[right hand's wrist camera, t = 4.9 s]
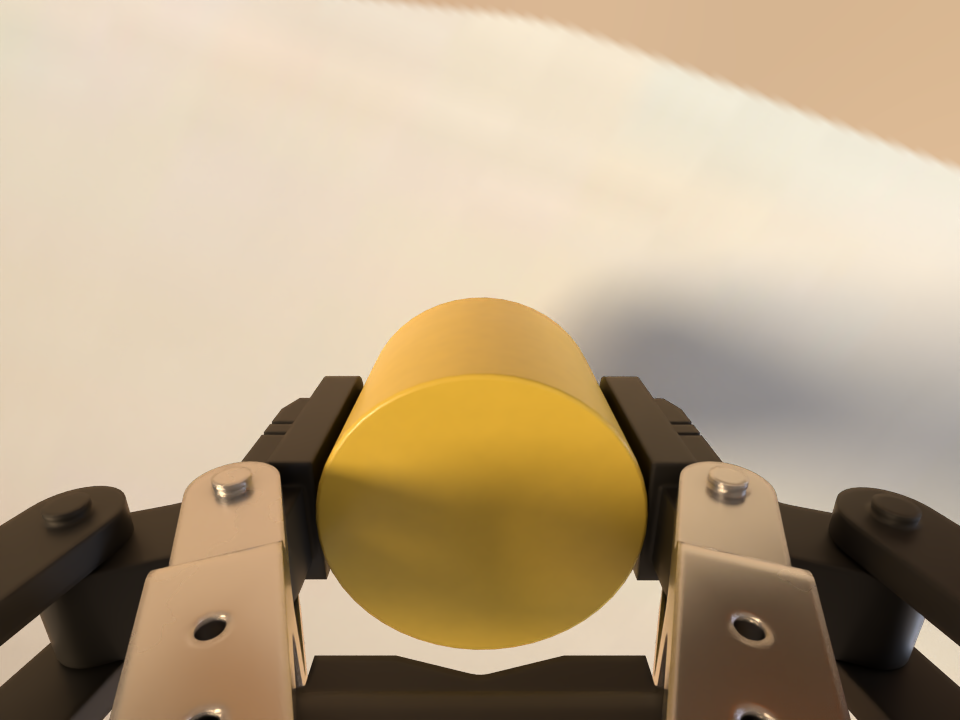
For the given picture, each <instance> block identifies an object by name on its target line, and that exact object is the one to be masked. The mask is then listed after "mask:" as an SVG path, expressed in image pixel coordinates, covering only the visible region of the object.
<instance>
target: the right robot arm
mask: <svg viewBox="0 0 960 720" xmlns="http://www.w3.org/2000/svg"><path fill="white" fill-rule="evenodd" d="M599 387H600V389H601V391H602V393H603V395H604V397H605V399H606V400H607V402H608V404H609V406H610V408H611V410H612V412H613V414H614V416H615V418H616V420H617V422H618V424H619V426H620V428H621V430H622V432H623V434H624V436H625V438H626V440H627V442H628V444H629V446H630V448H631V450H632V452H633V454H634V456H635V458H636V459H637V462H638V465H639V467H640V470H641V472H642V475H643V478H644V483H645V487H646V492H647V501H648V520H647V528H646V535H645V538H644V542H643V546H642V549H641V552H640V555H639V557H638V559H637V561H636V564H635V566H634V568H633V570H634V573H635V576H636V578H637V580H659V581H660V583H661V586H662V593H661V600H660V606H659V615H658V625H657V635H656V646H655V656H654V666H653V676H652V675H651V671H650V668H649V665H648V662H647V659H646V656H560V657H556V658H552V659H548V660H544V661H540V662H536V663H532V664H528V665H523V666H519V667H515V668H511V669H507V670H503V671H499V672H495V673H491V674H485V675H475V674H469V673H465V672H461V671H457V670H453V669H449V668H445V667H441V666H437V665H432V664H428V663H424V662H420V661H416V660H412V659H408V658H404V657H400V656H314V659H313V662H312V665H311V668H310V671H309V675H308V676H307V666H306V656H305V646H304V635H303V625H302V615H301V606H300V600H299V592H300V590H301V588H302V585H303V583H304V580H305V579H327V577H328V574H329V571H330V567H329V564H328V562H327V560H326V558H325V556H324V553H323V550H322V547H321V544H320V541H319V536H318V530H317V524H316V497H317V491H318V485H319V481H320V478H321V475H322V472H323V469H324V466H325V464H326V462H327V460H328V458H329V455H330V453H331V451H332V449H333V447H334V445H335V443H336V441H337V439H338V437H339V435H340V433H341V431H342V429H343V427H344V425H345V423H346V421H347V419H348V417H349V415H350V413H351V411H352V409H353V407H354V405H355V403H356V401H357V399H358V397H359V395H360V393H361V391H362V389H363V382H362V379H361V377H360V376H325V377H324V378H323V380H322V381H321V383H320V384H319V386H318V387H317V389H316V390H315V391H314V393H313V394H312V396H311V397H310V398H299V399H298V400H296V401H294V402H293V403H291V404H289V405H288V406H286V407H284V408H283V409H281V411H280V412H279V413H278V415H277V416H276V417H275V418H274V420H273V421H272V424H270V425H269V426H268V428H267V429H266V430H265V432H264V435H261V437H260V438H259V439H258V441H257V442H256V443H255V445H254V446H253V447H252V448H251V450H250V451H249V452H248V454H247V455H246V456H245V458H244V459H243V460H242V462H238V463H232V464H227V465H224V466H221V467H218V468H215V469H212V470H210V471H208V472H206V473H204V474H202V475H201V476H199V477H198V478H196V479H195V480H194V481H193V482H192V483H191V484H190V485H189V486H188V487H187V488H186V490H185V492H184V495H183V500H182V503H178V504H173V505H168V506H163V507H157V508H152V509H147V510H141V511H136V512H131V513H130V511H129V508H128V504H127V500H126V497H125V495H124V493H123V492H122V491H121V490H119V489H117V488H114V487H109V486H92V487H84V488H79V489H74V490H71V491H67V492H64V493H61V494H58V495H55V496H52V497H50V498H47V499H45V500H43V501H41V502H39V503H37V504H35V505H34V506H32V507H30V508H28V509H27V510H25V511H24V512H22V513H20V514H19V515H17V516H15V517H14V518H12V519H11V520H9V521H7V522H6V523H4V524H2V525H1V526H0V646H1V645H2V644H4V643H5V642H6V641H7V640H9V639H10V638H11V637H12V636H13V635H15V634H16V633H17V632H18V631H20V630H21V629H22V628H23V627H25V626H26V625H27V624H28V623H29V622H31V621H32V620H33V619H34V618H36V617H37V616H38V615H39V614H40V616H41V619H42V621H43V624H44V626H45V629H46V632H47V634H48V637H49V639H50V642H51V643H50V644H49V645H47V646H46V647H45V648H44V649H43V650H42V651H41V652H40V653H38V654H37V655H36V656H35V657H34V658H33V659H32V660H30V661H29V662H28V663H27V664H26V665H25V666H24V667H22V668H21V669H20V670H19V671H18V672H17V673H16V674H15V675H13V676H12V677H11V678H10V679H9V680H8V681H7V682H5V683H4V684H3V685H2V686H1V687H0V720H103V719H104V718H105V716H106V715H107V714H108V713H109V712H110V711H111V710H112V711H111V715H110V719H109V720H851V719H850V715H849V711H850V712H851V713H852V714H853V715H854V716H855V718H856V719H857V720H960V687H959V686H958V685H957V684H956V683H955V682H953V681H952V680H951V679H950V678H949V677H948V676H947V675H945V674H944V673H943V672H942V671H941V670H940V669H939V668H938V667H936V666H935V665H934V664H933V663H932V662H931V661H930V660H928V659H927V658H926V657H925V656H924V655H923V654H922V653H920V652H919V651H918V650H917V649H916V648H915V647H914V645H915V642H916V640H917V637H918V635H919V632H920V630H921V627H922V625H923V622H924V620H925V618H926V619H927V620H928V621H929V622H931V623H932V624H933V625H934V626H935V627H937V628H938V629H939V630H940V631H942V632H943V633H944V634H945V635H947V636H948V637H949V638H950V639H951V640H953V641H954V642H955V643H956V644H958V645H959V646H960V526H959V525H958V524H956V523H954V522H953V521H951V520H949V519H948V518H946V517H945V516H943V515H941V514H940V513H938V512H936V511H935V510H933V509H931V508H930V507H928V506H926V505H924V504H922V503H920V502H918V501H916V500H914V499H911V498H909V497H906V496H903V495H900V494H897V493H894V492H890V491H886V490H881V489H876V488H864V487H858V488H850V489H846V490H844V491H842V492H841V493H839V494H838V496H837V499H836V502H835V506H834V509H833V513H829V512H824V511H819V510H813V509H808V508H803V507H797V506H792V505H788V504H783V503H780V502H778V500H777V495H776V492H775V490H774V488H773V487H772V486H771V485H770V484H769V483H768V482H767V481H766V480H765V479H764V478H762V477H761V476H759V475H758V474H756V473H754V472H752V471H750V470H748V469H745V468H742V467H739V466H736V465H733V464H728V463H723V462H722V461H721V460H720V458H719V457H718V456H717V455H716V453H715V452H714V451H713V449H712V448H711V447H710V446H709V444H708V443H707V442H706V440H705V439H704V438H703V437H702V436H700V433H699V431H698V430H697V429H696V428H695V426H694V425H691V421H690V420H689V419H688V417H687V416H686V415H685V413H684V412H683V411H682V410H681V409H680V408H678V407H677V406H675V405H673V404H672V403H670V402H668V401H666V400H665V399H663V398H653V397H652V396H651V394H650V393H649V392H648V390H647V389H646V387H645V386H644V384H643V383H642V382H641V380H640V379H639V378H638V377H602V379H601V381H600V386H599ZM848 710H849V711H848Z"/></svg>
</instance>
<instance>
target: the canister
mask: <svg viewBox="0 0 960 720" xmlns="http://www.w3.org/2000/svg"><path fill="white" fill-rule="evenodd" d="M647 520H648V501H647V492H646V487H645V483H644V478H643V475H642V472H641V470H640V467H639V465H638V462H637V459H636V458H635V456H634V454H633V452H632V450H631V448H630V446H629V444H628V442H627V440H626V438H625V436H624V434H623V432H622V430H621V428H620V426H619V424H618V422H617V420H616V418H615V416H614V414H613V412H612V410H611V408H610V406H609V404H608V402H607V400H606V399H605V397H604V395H603V393H602V391H601V389H600V387H599V385H598V383H597V381H596V379H595V377H594V375H593V373H592V371H591V369H590V367H589V365H588V363H587V361H586V359H585V357H584V356H583V354H582V352H581V350H580V349H579V347H578V346H577V344H576V343H575V342H574V341H573V339H572V338H571V337H570V335H569V334H568V333H566V332H565V331H564V330H563V329H562V328H561V327H560V326H559V325H558V324H557V323H555V322H554V321H553V320H551V319H550V318H548V317H547V316H545V315H544V314H542V313H540V312H538V311H536V310H534V309H532V308H530V307H527V306H524V305H522V304H519V303H516V302H512V301H507V300H503V299H494V298H467V299H461V300H454V301H451V302H447V303H444V304H440V305H438V306H436V307H433V308H431V309H429V310H426V311H424V312H423V313H421V314H419V315H418V316H416V317H414V318H413V319H411V320H410V321H409V322H407V323H406V324H405V325H404V326H402V327H401V328H400V329H399V330H398V331H397V332H396V333H395V334H394V335H393V336H392V337H391V339H390V340H389V341H388V343H387V344H386V345H385V347H384V348H383V350H382V351H381V353H380V355H379V357H378V359H377V361H376V363H375V365H374V367H373V369H372V371H371V373H370V375H369V377H368V379H367V381H366V383H365V385H364V387H363V389H362V391H361V393H360V395H359V397H358V399H357V401H356V403H355V405H354V407H353V409H352V411H351V413H350V415H349V417H348V419H347V421H346V423H345V425H344V427H343V429H342V431H341V433H340V435H339V437H338V439H337V441H336V443H335V445H334V447H333V449H332V451H331V453H330V455H329V458H328V460H327V462H326V464H325V466H324V469H323V472H322V475H321V478H320V481H319V485H318V491H317V497H316V524H317V530H318V536H319V541H320V544H321V547H322V550H323V553H324V556H325V558H326V560H327V562H328V564H329V567H330V569H331V571H332V573H333V574H334V575H335V577H336V578H337V580H338V581H339V583H340V584H341V586H342V587H343V588H344V589H345V591H346V592H347V593H348V594H349V595H350V596H351V597H352V598H353V600H354V601H355V602H357V603H358V604H359V605H360V606H361V607H362V608H363V609H365V610H366V611H367V612H368V613H369V614H371V615H372V616H374V617H375V618H377V619H378V620H380V621H381V622H383V623H384V624H386V625H388V626H390V627H392V628H393V629H395V630H397V631H399V632H401V633H404V634H406V635H409V636H411V637H414V638H416V639H419V640H422V641H426V642H429V643H433V644H436V645H441V646H447V647H452V648H461V649H473V650H485V649H502V648H511V647H517V646H522V645H526V644H531V643H535V642H538V641H541V640H544V639H547V638H550V637H553V636H555V635H557V634H559V633H562V632H564V631H566V630H568V629H570V628H572V627H574V626H575V625H577V624H579V623H581V622H582V621H584V620H586V619H587V618H588V617H590V616H591V615H592V614H594V613H595V612H596V611H598V610H599V609H600V608H601V607H602V606H603V605H605V604H606V603H607V602H608V601H609V600H610V599H611V598H612V597H613V596H614V595H615V593H616V592H617V591H618V590H619V589H620V587H621V586H622V585H623V584H624V583H625V581H626V579H627V578H628V576H629V574H630V573H631V571H632V570H633V568H634V566H635V564H636V561H637V559H638V557H639V555H640V552H641V549H642V546H643V542H644V538H645V535H646V528H647Z"/></svg>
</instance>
